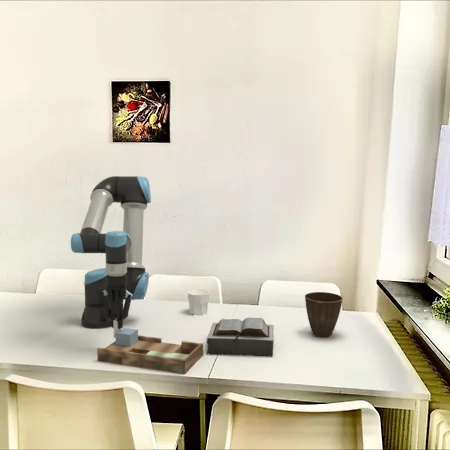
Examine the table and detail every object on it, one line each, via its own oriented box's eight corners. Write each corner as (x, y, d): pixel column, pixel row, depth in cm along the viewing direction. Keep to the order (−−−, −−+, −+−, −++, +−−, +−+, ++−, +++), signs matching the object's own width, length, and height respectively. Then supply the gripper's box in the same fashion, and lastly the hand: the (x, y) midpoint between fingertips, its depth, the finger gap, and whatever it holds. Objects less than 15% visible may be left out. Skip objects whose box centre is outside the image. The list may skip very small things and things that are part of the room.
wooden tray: (97, 361, 179) (97, 348, 178) (121, 344, 195) (121, 333, 194) (185, 373, 169) (185, 360, 168) (203, 355, 185) (203, 343, 184)
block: (115, 344, 186) (115, 332, 186) (123, 339, 192) (123, 327, 191) (130, 346, 184) (130, 334, 184) (138, 341, 190) (138, 329, 189)
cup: (208, 316, 231) (209, 295, 230) (186, 316, 231) (186, 294, 230) (209, 310, 241) (210, 289, 240) (188, 309, 241) (188, 289, 240)
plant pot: (347, 334, 208) (349, 296, 206) (328, 344, 198) (329, 303, 196) (316, 326, 219) (318, 290, 217) (296, 335, 208) (297, 296, 206)
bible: (270, 362, 180) (270, 335, 178) (197, 354, 187) (197, 328, 186) (281, 340, 202) (282, 316, 201) (216, 333, 209) (216, 310, 208)
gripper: (95, 274, 184) (96, 337, 187) (127, 277, 180) (128, 342, 183) (106, 270, 192) (107, 331, 194) (137, 273, 187) (138, 335, 190)
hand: (117, 336), depth 189 cm, fingers closed
